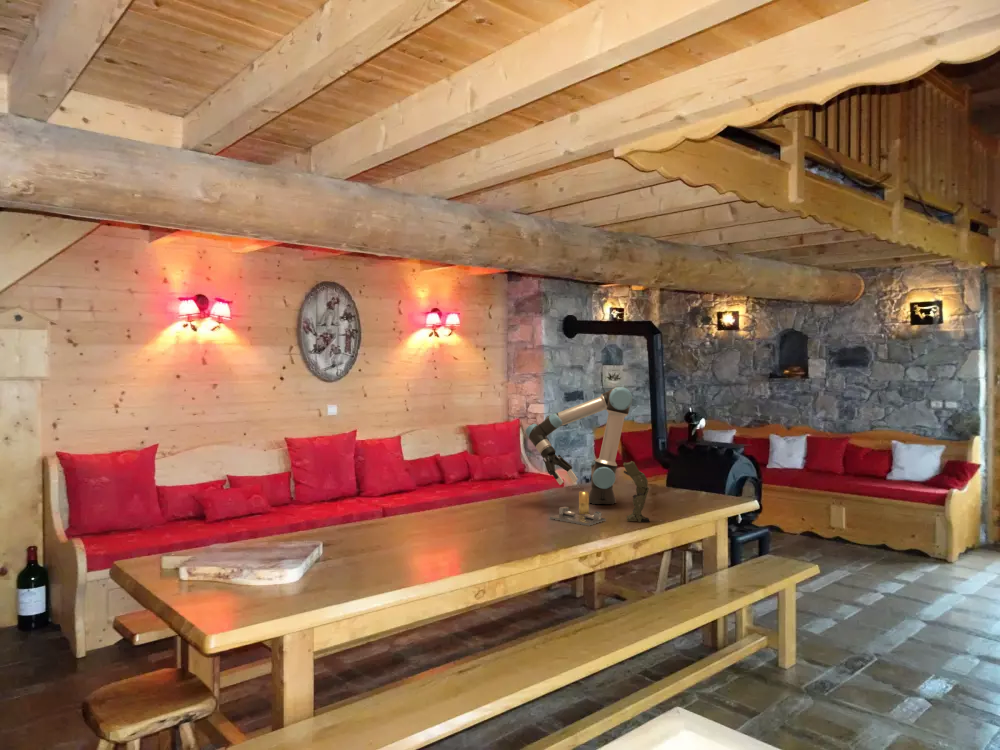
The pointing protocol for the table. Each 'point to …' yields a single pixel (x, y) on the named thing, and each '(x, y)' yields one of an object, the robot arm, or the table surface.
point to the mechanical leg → (641, 491)
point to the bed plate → (578, 517)
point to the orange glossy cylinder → (583, 502)
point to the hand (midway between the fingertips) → (569, 482)
